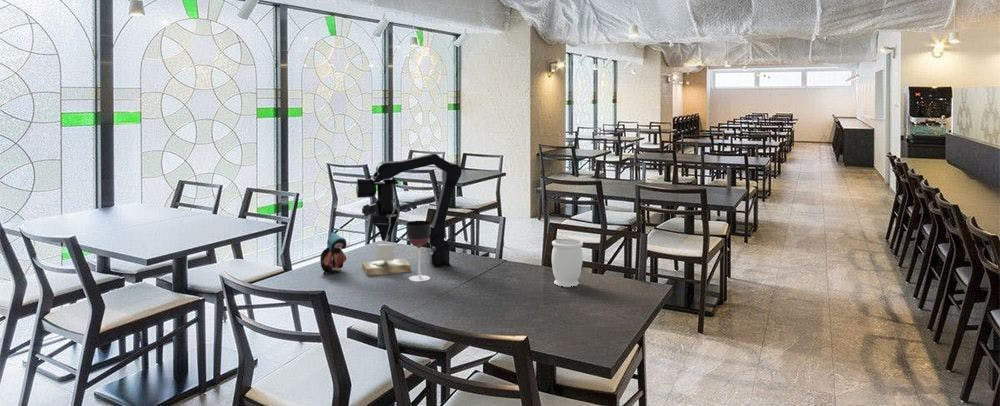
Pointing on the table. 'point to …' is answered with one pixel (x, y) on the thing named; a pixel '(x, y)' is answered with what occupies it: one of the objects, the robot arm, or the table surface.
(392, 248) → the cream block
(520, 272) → the table surface
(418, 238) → the wineglass
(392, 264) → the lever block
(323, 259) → the figurine
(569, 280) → the jar
